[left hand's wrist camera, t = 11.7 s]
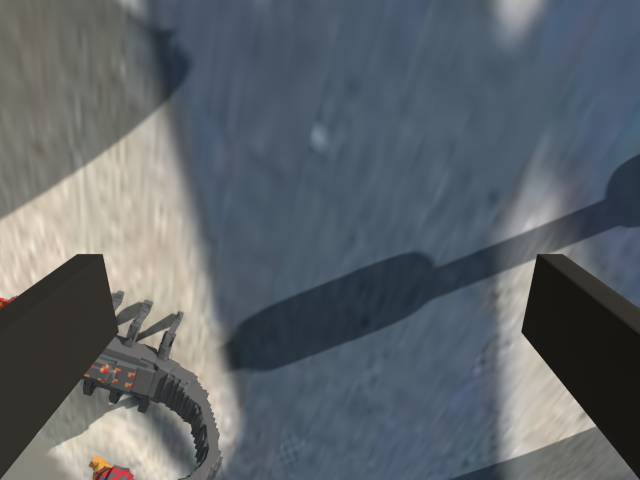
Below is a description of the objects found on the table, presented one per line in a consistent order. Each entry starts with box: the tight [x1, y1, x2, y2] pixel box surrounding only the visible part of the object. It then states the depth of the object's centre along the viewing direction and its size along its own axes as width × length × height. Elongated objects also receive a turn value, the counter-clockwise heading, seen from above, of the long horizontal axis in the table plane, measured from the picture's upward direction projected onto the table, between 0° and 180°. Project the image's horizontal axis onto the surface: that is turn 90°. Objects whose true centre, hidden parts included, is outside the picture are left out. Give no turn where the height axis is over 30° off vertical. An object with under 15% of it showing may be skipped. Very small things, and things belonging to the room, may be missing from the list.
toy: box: [0, 291, 223, 480], centre depth 39 cm, size 13×27×18 cm, turn 67°
